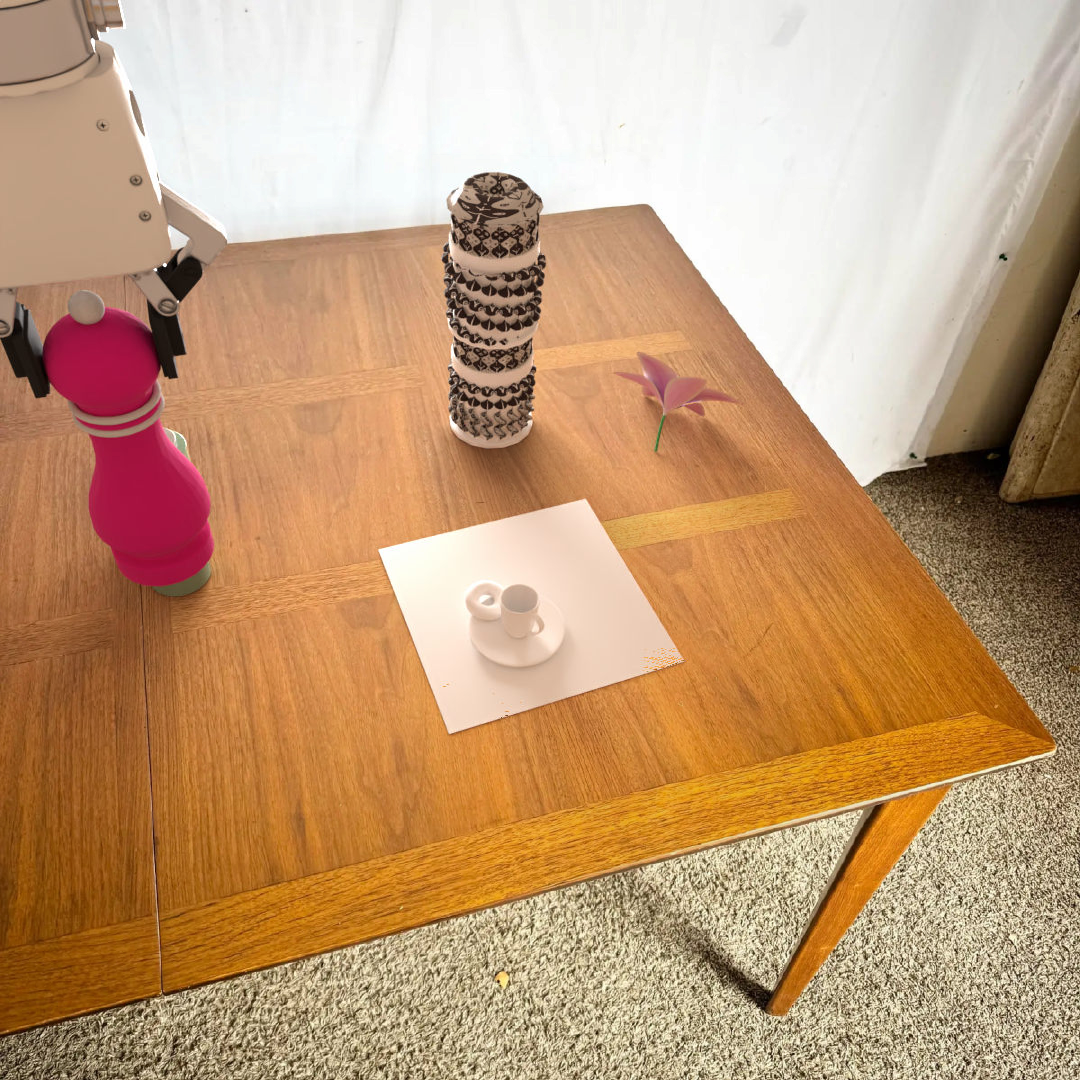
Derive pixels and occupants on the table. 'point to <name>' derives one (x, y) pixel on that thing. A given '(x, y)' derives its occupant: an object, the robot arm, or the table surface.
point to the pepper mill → (129, 443)
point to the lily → (673, 388)
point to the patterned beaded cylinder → (493, 307)
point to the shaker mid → (186, 584)
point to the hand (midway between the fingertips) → (107, 371)
